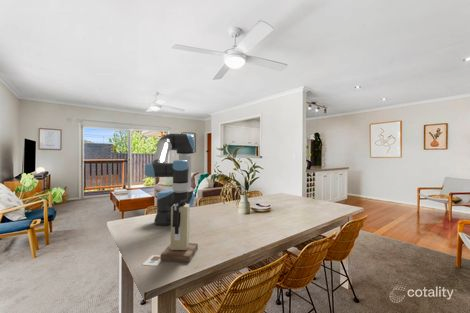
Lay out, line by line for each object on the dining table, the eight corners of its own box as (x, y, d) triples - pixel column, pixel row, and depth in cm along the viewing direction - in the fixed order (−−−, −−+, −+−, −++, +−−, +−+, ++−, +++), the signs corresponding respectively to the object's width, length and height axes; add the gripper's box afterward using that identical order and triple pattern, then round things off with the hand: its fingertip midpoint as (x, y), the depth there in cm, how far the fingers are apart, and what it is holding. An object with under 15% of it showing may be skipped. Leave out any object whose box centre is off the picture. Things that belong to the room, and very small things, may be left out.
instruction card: (151, 255, 105) (151, 254, 105) (165, 256, 104) (165, 255, 104) (142, 265, 96) (142, 264, 96) (157, 266, 95) (157, 265, 95)
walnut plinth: (172, 247, 114) (172, 242, 114) (197, 249, 112) (197, 243, 112) (160, 260, 100) (160, 254, 100) (189, 262, 99) (189, 256, 98)
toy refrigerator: (189, 243, 110) (189, 203, 110) (186, 250, 103) (187, 207, 102) (174, 243, 110) (174, 203, 110) (170, 250, 103) (170, 207, 102)
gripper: (180, 187, 116) (180, 229, 116) (164, 194, 96) (164, 245, 96) (193, 187, 115) (193, 229, 116) (180, 195, 95) (180, 245, 96)
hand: (180, 236), depth 106 cm, fingers closed on toy refrigerator, 7 cm apart
